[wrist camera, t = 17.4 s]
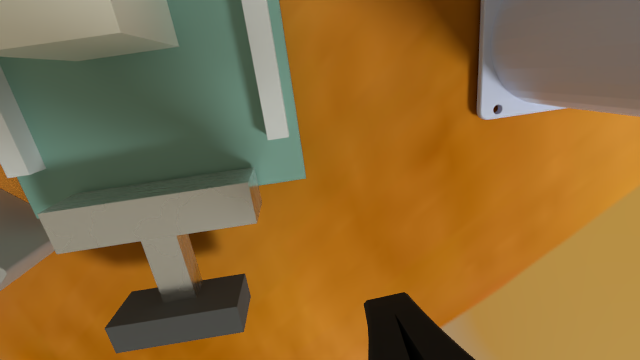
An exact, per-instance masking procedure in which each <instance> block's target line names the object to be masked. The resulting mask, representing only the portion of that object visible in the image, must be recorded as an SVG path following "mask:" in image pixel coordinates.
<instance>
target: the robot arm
mask: <svg viewBox="0 0 640 360" xmlns="http://www.w3.org/2000/svg"><path fill="white" fill-rule="evenodd" d="M496 105H498V110H497V111H496V112H495V113H494V112H493V109H494V107H495V106H496ZM564 108H573V109H582V110H590V111H598V112H606V113H614V114H622V115H630V116H639V117H640V0H481V15H480V40H479V66H478V92H477V115H478V116H479V117H480V118H481V119H486V120H489V119H496V118H503V117H509V116H516V115H523V114H530V113H537V112H544V111H550V110H557V109H564ZM364 308H365V313H366V319H367V324H368V336H369V350H368V360H475V359H474V358H473V357H472V356H470V355H469V354H468V353H467V352H466V351H464V350H463V349H462V348H461V347H460V346H459V345H458V344H457V343H455V341H453V340H452V339H451V338H450V337H449V336H448V335H447V334H446V333H445V332H443V331H442V329H440V328H439V327H438V326H437V325H436V324H435V323H434V322H433V321H432V320H431V319H430V318H429V317H428V316H427V315H426V314H425V313H424V312H423V311H422V310H421V309H420V307H419V306H418V305H417V304H416V303H415V302H414V301H413V300H412V299H411V298H410V296H409V295H408V294H406V293H405V292H403V293H398V294H394V295H389V296H385V297H380V298H376V299H371V300H367V301H366V302H365V303H364Z"/></svg>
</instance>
